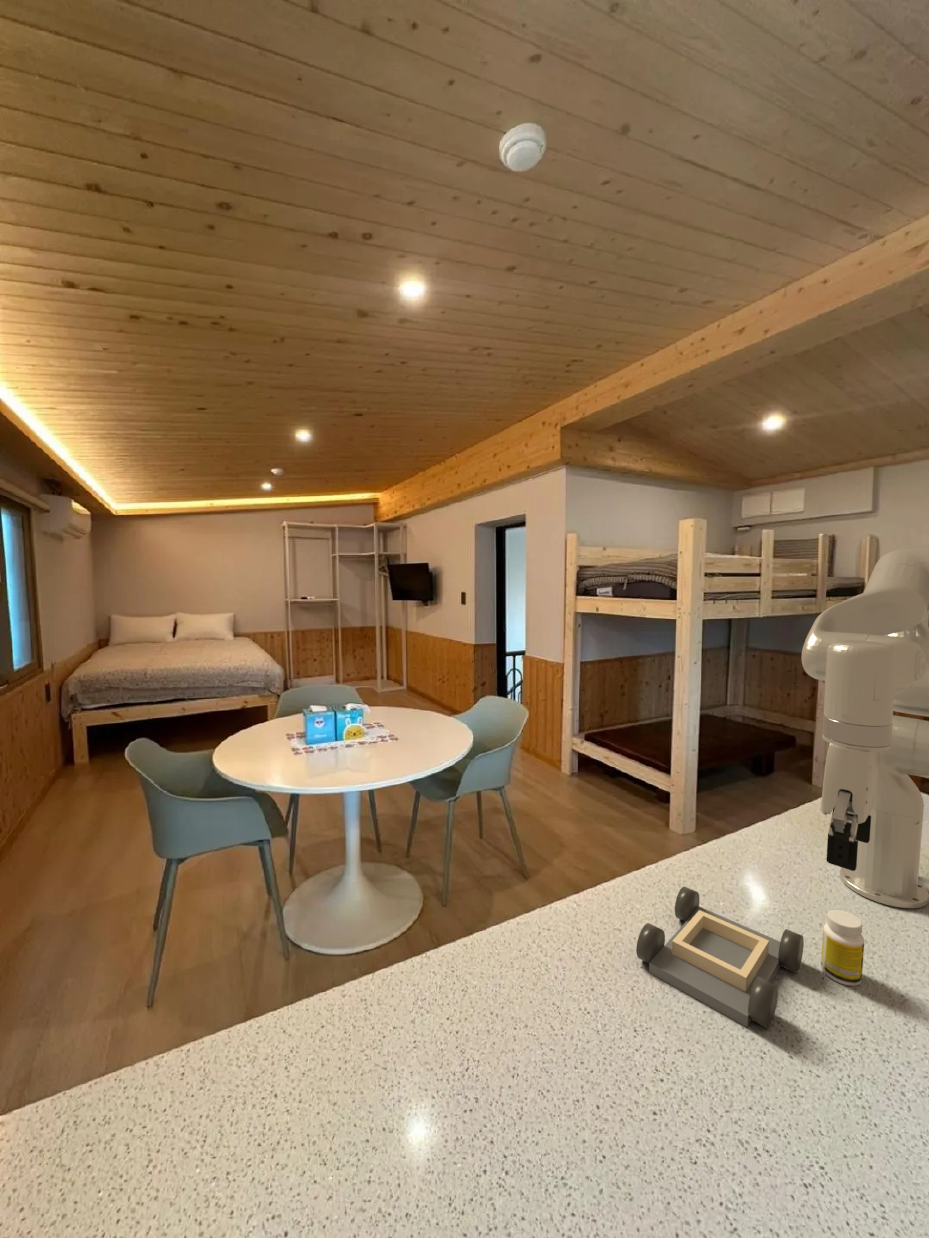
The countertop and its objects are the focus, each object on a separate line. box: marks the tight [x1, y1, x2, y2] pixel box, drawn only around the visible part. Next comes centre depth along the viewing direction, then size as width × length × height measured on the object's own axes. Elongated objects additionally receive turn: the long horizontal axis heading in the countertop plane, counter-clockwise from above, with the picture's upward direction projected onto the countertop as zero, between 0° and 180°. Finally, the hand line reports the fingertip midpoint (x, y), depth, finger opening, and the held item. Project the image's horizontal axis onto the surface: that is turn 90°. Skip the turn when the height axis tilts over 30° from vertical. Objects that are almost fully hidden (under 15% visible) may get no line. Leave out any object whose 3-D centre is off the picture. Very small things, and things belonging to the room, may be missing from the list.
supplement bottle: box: [820, 909, 865, 987], centre depth 75 cm, size 5×5×8 cm
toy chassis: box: [635, 886, 805, 1029], centre depth 78 cm, size 18×17×5 cm
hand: (848, 851), depth 74 cm, fingers open, 9 cm apart
